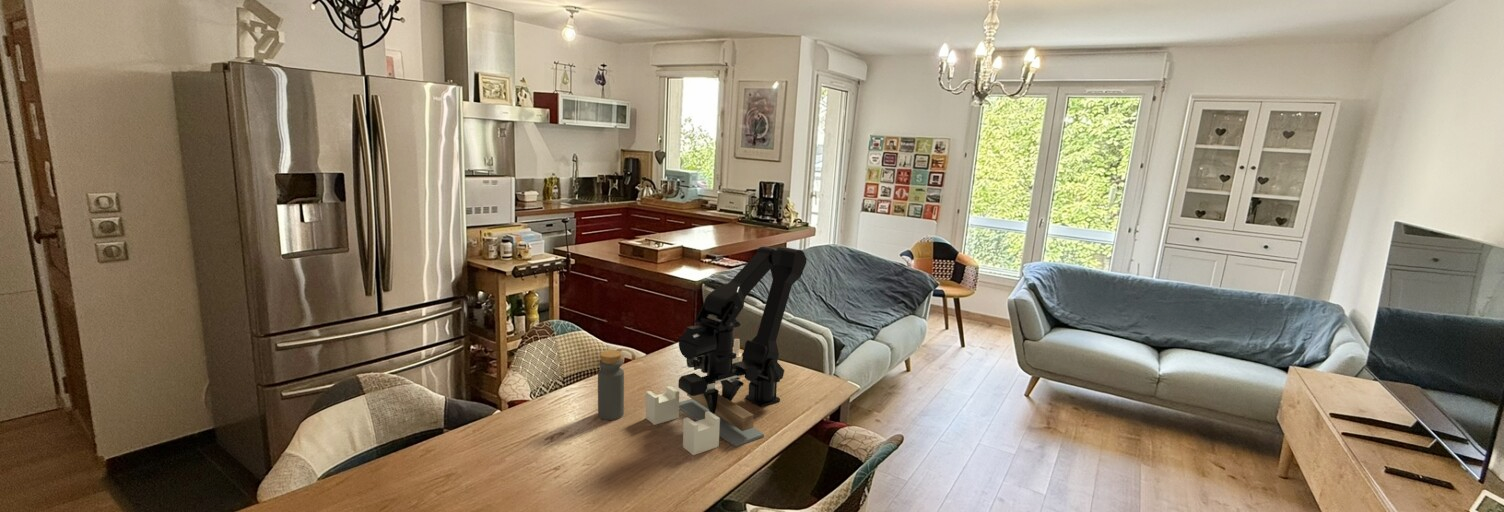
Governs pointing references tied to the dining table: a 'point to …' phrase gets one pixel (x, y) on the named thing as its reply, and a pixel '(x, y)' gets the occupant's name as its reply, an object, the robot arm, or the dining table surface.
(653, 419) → the post
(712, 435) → the post
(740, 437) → the mat
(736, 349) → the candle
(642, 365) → the dining table surface
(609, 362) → the bottle
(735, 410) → the rail
